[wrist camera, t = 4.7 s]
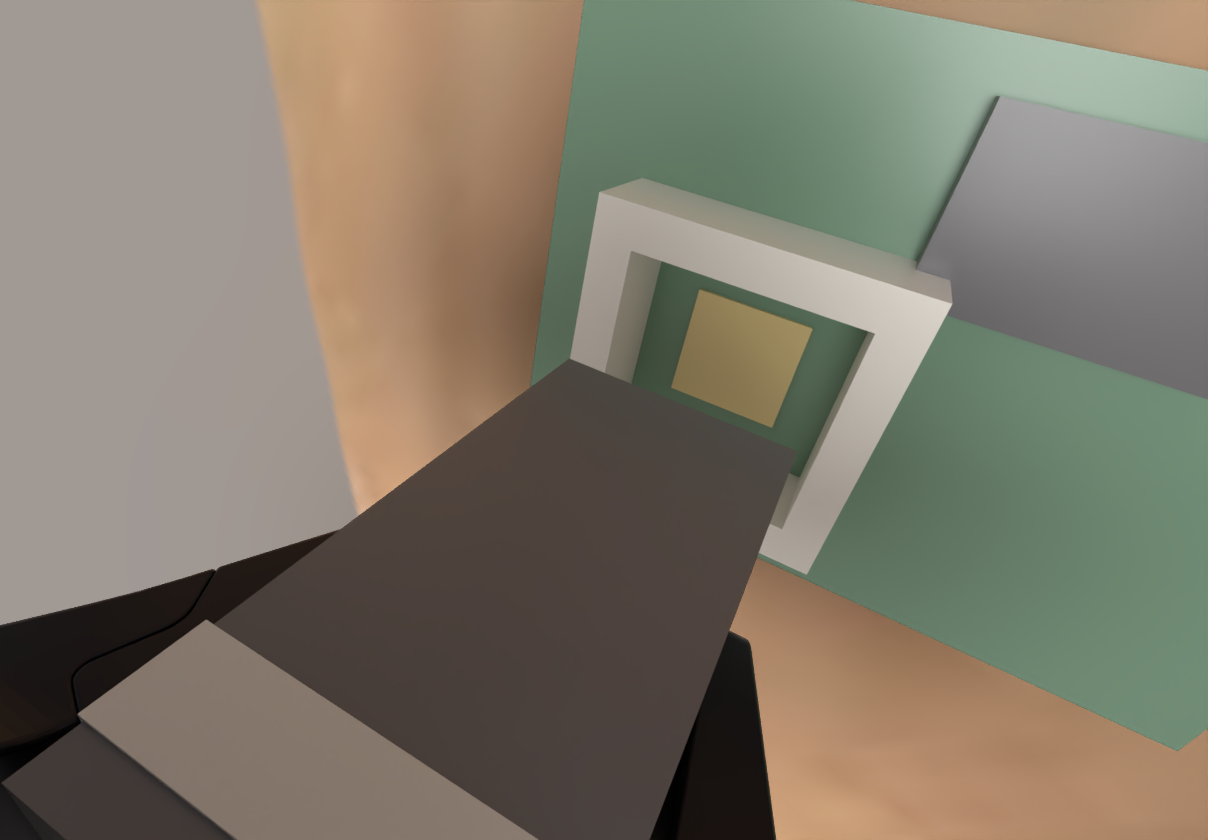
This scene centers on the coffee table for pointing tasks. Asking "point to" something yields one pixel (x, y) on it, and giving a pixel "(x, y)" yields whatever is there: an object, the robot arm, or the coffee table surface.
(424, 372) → the coffee table surface
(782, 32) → the circuit board
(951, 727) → the coffee table surface
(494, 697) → the black plug
